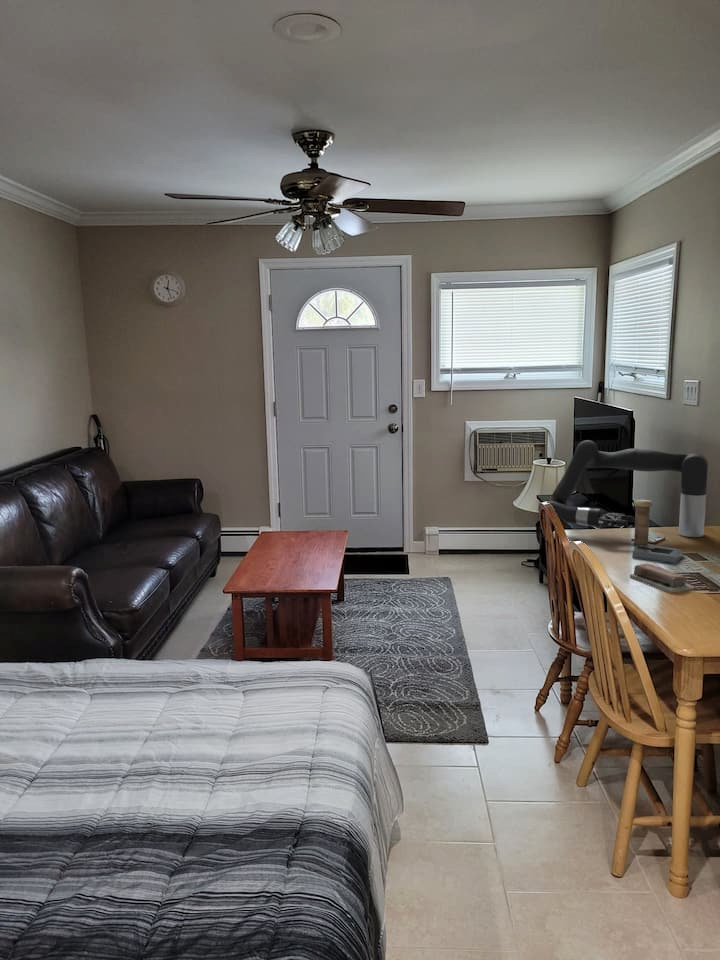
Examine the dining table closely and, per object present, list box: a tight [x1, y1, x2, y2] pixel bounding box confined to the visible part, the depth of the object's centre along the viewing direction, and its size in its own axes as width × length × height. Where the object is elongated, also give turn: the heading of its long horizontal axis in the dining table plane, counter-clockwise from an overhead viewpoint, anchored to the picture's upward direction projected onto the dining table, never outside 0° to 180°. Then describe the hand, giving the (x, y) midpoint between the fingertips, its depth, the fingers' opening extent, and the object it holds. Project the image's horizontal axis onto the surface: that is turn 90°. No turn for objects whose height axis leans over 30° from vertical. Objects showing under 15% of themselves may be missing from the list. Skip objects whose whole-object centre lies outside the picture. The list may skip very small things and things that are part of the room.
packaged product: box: [629, 563, 695, 594], centre depth 221 cm, size 18×5×10 cm
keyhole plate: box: [631, 544, 684, 564], centre depth 250 cm, size 12×15×2 cm
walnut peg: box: [633, 499, 653, 547], centre depth 265 cm, size 6×6×18 cm
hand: (630, 521), depth 267 cm, fingers open, 8 cm apart
